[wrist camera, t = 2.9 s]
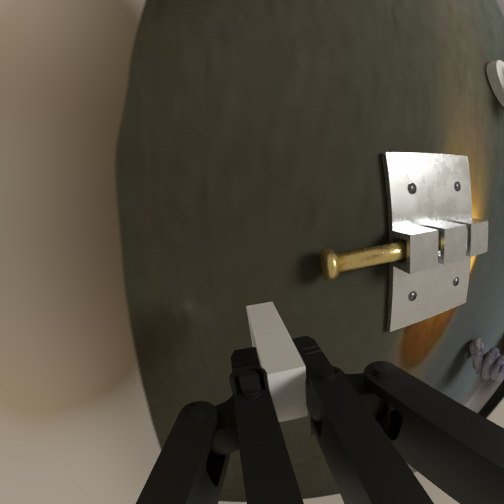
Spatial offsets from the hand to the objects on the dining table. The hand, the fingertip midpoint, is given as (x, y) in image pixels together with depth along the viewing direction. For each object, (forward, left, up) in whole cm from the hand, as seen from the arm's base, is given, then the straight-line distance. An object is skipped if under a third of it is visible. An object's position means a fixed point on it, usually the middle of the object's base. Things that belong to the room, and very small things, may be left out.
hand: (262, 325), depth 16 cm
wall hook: (-23, +46, -10) cm, 53 cm away
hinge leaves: (0, +22, -10) cm, 24 cm away
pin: (0, +15, -10) cm, 18 cm away
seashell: (+20, +34, -10) cm, 41 cm away
